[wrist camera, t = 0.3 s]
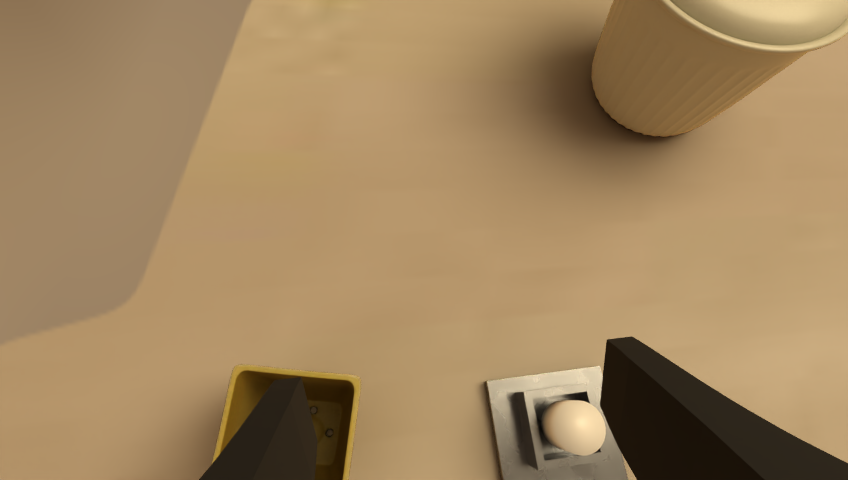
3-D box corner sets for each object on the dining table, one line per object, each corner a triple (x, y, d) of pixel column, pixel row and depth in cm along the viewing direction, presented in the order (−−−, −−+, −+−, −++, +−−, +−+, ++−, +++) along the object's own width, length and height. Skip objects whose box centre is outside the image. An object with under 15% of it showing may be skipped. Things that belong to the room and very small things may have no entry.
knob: (592, 446, 35) (611, 451, 31) (546, 453, 34) (561, 459, 31) (580, 397, 36) (598, 397, 33) (536, 403, 36) (550, 404, 32)
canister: (692, 195, 46) (908, 41, 26) (536, 112, 49) (624, -84, 29) (747, 73, 52) (960, -130, 32) (603, 5, 54) (717, -222, 34)
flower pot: (371, 380, 39) (362, 375, 31) (357, 494, 36) (343, 523, 28) (270, 370, 39) (233, 363, 31) (248, 483, 36) (200, 509, 28)
